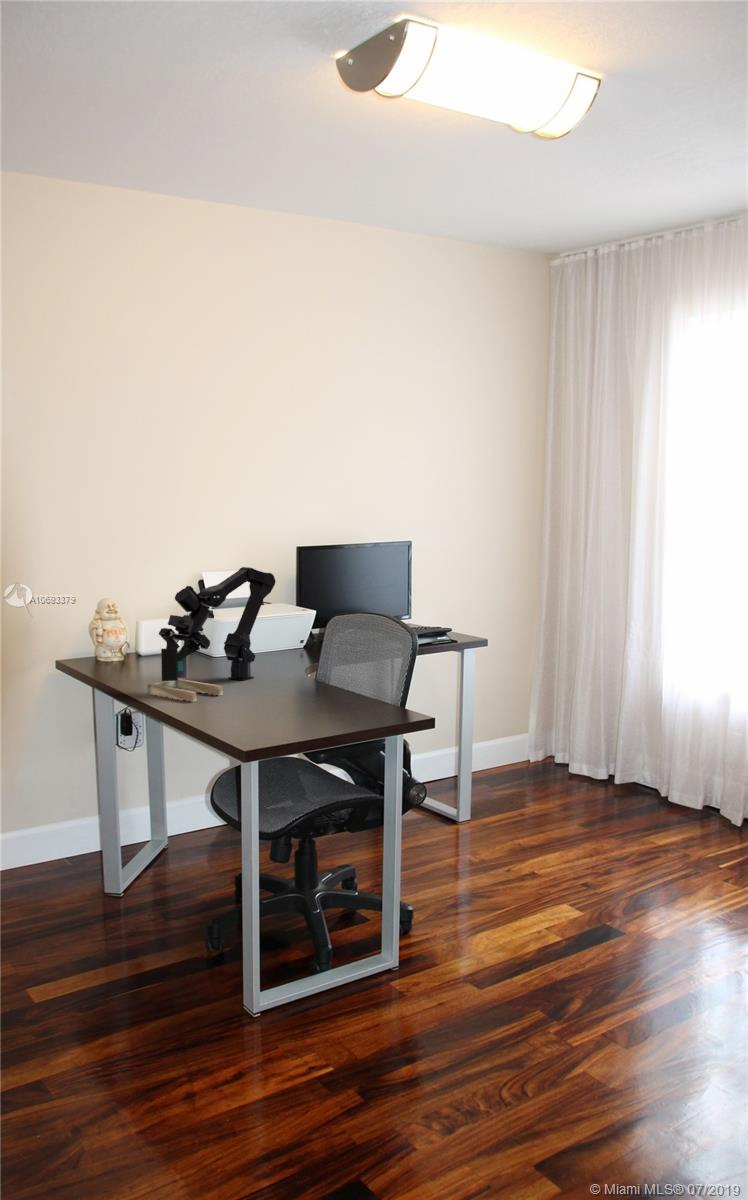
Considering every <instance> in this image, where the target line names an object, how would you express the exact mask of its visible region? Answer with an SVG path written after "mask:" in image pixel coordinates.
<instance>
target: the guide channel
mask: <svg viewBox="0 0 748 1200" xmlns="http://www.w3.org/2000/svg"><path fill="white" fill-rule="evenodd" d="M146 688H147V695H150V694H152V695H151V696H155V695H157V697H161V696H162V698H166V697H168V698H167V699H172V698H173V699H174V700H177V699H179V701H183V700H186V701H185V702H188V701H191V702H190V703H195V702H194V701H196V702H197V693H199V692H201V693H200V694H205V693H208V694H207V695H211V694H213V696H216V695H218V696H217V697H221V696H223V688H224V687H223V685H219V684H212V683H206V682H201V681H200V682H199V681H195V680H188V679H184V678H178V681H160V682H156V683H155V682H154V683H150V684H147V687H146ZM177 688H178V689H177ZM182 689H184V690H182ZM188 690H191V691H188ZM193 691H196V692H193ZM220 695H221V696H220ZM173 699H172V700H173Z"/></svg>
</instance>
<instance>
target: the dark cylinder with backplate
mask: <svg viewBox="0 0 748 1200" xmlns="http://www.w3.org/2000/svg"><path fill="white" fill-rule="evenodd" d="M160 651H161V652H160V653H161V682H163V681H178V679H184V678H185V679H187V675H188V674H187V673H188V671H187V656H186V657H184V658H183V659H181V660H180V661H177V659H176V658H177V656H178V654H179V652H178V649H177V648H173V649H166V648H161V649H160Z"/></svg>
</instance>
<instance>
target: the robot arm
mask: <svg viewBox="0 0 748 1200" xmlns="http://www.w3.org/2000/svg"><path fill="white" fill-rule="evenodd" d="M276 582H277V581H276V578H275V576H274V574H273V573H271V572H263V571H260V570H258V569H256V568H254V567H251V566H250V567H247V566H246V567H245V566H242V567H241V568H238V570H237V571H235V572H234V573H233V574H232V575H230V576H228V577H227V578H226V579H223V580H222V581H221V582H219V583H218V584H215V585H212V586H208V587H206V588H203V589H201V590H200V591H199V592H198V593H197V592H196V591H195V589H194V588H193V586H191V585H186V587H184V588H181V590H179V591H178V592H176V594H175V596H174V601H176V602H177V603H178V606H180V607H181V608H182V609H183V610H184V611H185V612H186V613H189V614H184V615H183V616H182V615H181V616H180V615H175V614H170V616H169V619H168V622H167V625H168V626H172V627H173V628H174V630H173V628H167V627H162V628H161V629H160V631H158V635H159V636H160V637H161V638H162V639H163V641H165V642H166V647H165V649H173V648H177V650H178V649H179V648H180V645H179V644H178V643H179V641H182V642H183V645H182V647H181V649H180V650H179V652H178V653H179V654H178V656H177V658H176V659H177V661H180V660H181V659H183V658H184V657H186V658H187V656H189V655H191V654H193V653H195V652H196V651H200V649H202V650H208V649H209V647H210V646H211V640H210V639H209V638H208V636H206V634H205V633H204V632H203V631H204V628H203V626H204V625H205V623H206V621H207V620H208V619H215V615H214V614H215V613H214V610H211V609H209V608H219V607H220V606H221V605H222V604H223V603H224V602H225V601H226V599H227V597H228V596H229V594H231V593H232V592H234V591H235V590H237V589H238V588H239V587H241V586H242V585H244V584H245V583H249V586H248V587H249V592H250V594H249V597H248V599H247V602H246V605H245V607H244V609H243V612H242V615H241V617H240V619H239V622H238V625H237V627H236V630H235V631H234V632H233V633H230V632H229V633H228V634H227V635H226V638H225V639H226V640H225V641H224V642H223V644H224V646H223V651H224V653H225V656H226V659H227V661H231V663H230V664H231V665H230V676H228V677H227V678H228V680H236V681H241V680H242V681H246V680H250V678H251V679H254V678H255V676H253V675H251V663H252V662H255V660H256V654H255V653H254V652H253V651H252V650H251V649H250V648H251V645H252V644H251V643H252V642H251V637H250V636H251V632H252V630H253V629H254V628H253V627H254V625H255V623H256V621H257V617H258V614H259V612H260V609H261V607H262V604H263V602H264V599H265V598H266V597H267V596H268V595H270V594H271V592H272V590H273V589H274V586H276ZM208 607H209V608H208ZM175 631H176V632H177V633H176V632H175Z"/></svg>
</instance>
